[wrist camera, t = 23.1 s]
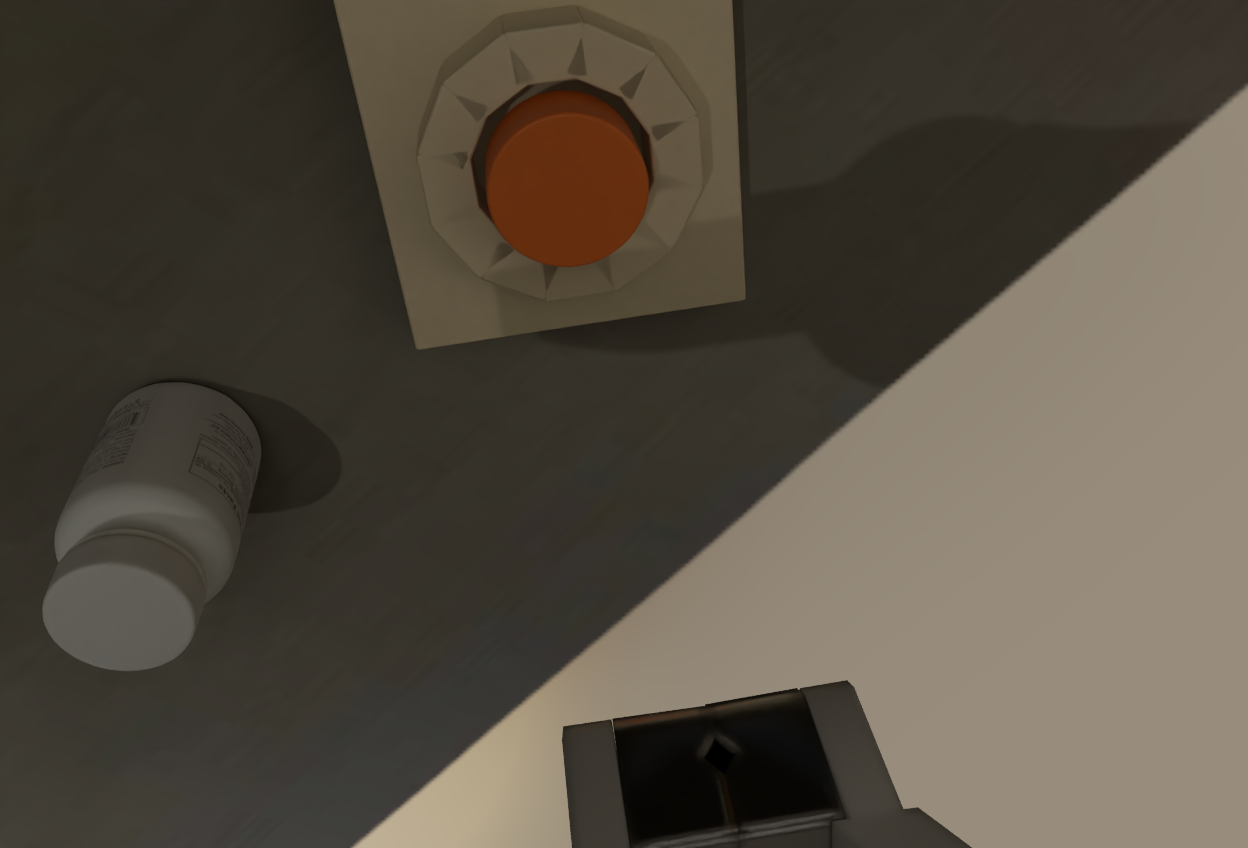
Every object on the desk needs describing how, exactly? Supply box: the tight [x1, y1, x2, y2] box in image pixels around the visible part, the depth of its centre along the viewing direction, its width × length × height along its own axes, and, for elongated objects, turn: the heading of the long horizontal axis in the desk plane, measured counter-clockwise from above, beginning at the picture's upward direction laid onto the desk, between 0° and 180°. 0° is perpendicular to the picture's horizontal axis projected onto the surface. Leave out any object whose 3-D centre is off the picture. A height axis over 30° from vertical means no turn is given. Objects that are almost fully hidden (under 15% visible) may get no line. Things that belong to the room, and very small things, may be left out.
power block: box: [333, 0, 746, 350], centre depth 27 cm, size 10×9×4 cm
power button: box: [485, 90, 649, 267], centre depth 25 cm, size 4×4×2 cm
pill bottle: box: [42, 382, 261, 671], centre depth 29 cm, size 4×4×8 cm
